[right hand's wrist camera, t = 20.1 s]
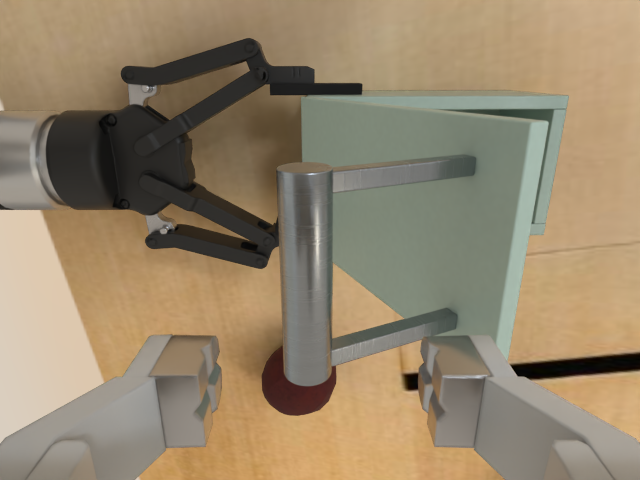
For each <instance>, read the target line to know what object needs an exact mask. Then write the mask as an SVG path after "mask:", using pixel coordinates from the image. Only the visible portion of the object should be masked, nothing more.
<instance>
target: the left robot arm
mask: <svg viewBox="0 0 640 480" xmlns="http://www.w3.org/2000/svg"><path fill="white" fill-rule="evenodd" d="M245 61H247V64H248V67H249V69H250V71H249V72H247V73H246V74H244V75H243V76H241V77H239V78H238V79H236V80H235V81H233V82H231V83H230V84H228V85H227V86H225V87H224V88H222V89H220V90H219V91H217V92H216V93H214V94H212V95H211V96H209V97H208V98H206V99H204V100H203V101H201V102H200V103H198V104H196V105H195V106H193V107H192V108H190V109H188V110H187V111H185V112H184V113H182V114H180V115H178V116H176V117H175V118H173V119H171V120H169V119H167V118H166V117H164V116H163V115H161V114H160V113H158V112H157V111H155V110H154V109H153V108H151V107H150V106H148V105H147V102H148V100H149V98H151V97H153V96H157V95H158V94H159V93H160V91H161V85H168V84H173V83H177V82H181V81H184V80H187V79H190V78H193V77H197V76H200V75H203V74H206V73H210V72H213V71H216V70H219V69H223V68H226V67H229V66H232V65H235V64H239V63H242V62H245ZM121 77H122V79H123V81H124V82H126V83H128V91H129V104H130V105H128V106H126V107H125V108H123V109H122V110H117V111H65V112H63V113H60V112H57V111H0V210H67V209H70V208H73V209H76V210H126V209H128V210H134V211H137V212H139V213H141V214H143V215H145V216H146V221H147V226H148V230H149V235H148V236H147V237H146V239H145V243H146V245H147V246H148V247H149V248H151V249H161V248H179V249H183V250H187V251H191V252H195V253H199V254H203V255H207V256H211V257H215V258H219V259H223V260H227V261H231V262H234V263H238V264H242V265H246V266H250V267H254V268H258V269H262V268H265V267H266V266H267V264H268V260H269V257H270V255H271V252H272V250H273V249H274V248H275V247H278V246H279V227H278V217H277V221H276V224H275V223H274V224H273V225H272V224H270V223H268V222H266V221H264V220H262V219H260V218H258V217H256V216H254V215H253V214H251V213H249V212H247V211H245V210H243V209H241V208H239V207H237V206H235V205H233V204H232V203H230V202H228V201H226V200H224V199H222V198H220V197H218V196H216V195H214V194H213V193H211V192H209V191H207V190H206V188H205V187H203V186H201V185H200V184H198V183H196V182H194V181H193V179H195V169H194V166H193V163H192V161H191V155H192V139H189V137H188V135H187V133H188V132H189V131H191V130H193V129H194V128H196V127H197V126H199V125H200V124H202V123H204V122H205V121H207V120H208V119H210V118H212V117H213V116H215V115H216V114H218V113H220V112H221V111H223V110H225V109H226V108H228V107H229V106H231V105H233V104H234V103H236V102H238V101H239V100H241V99H242V98H244V97H246V96H247V95H249V94H251V93H252V92H254V91H255V90H257V89H259V88H260V87H262V86H264V85H265V84H270V95H362V84H361V83H314V69H312V68H310V67H308V66H271V65H270V64H269V63H268V62H267V61H266V59H265V56H264V54H263V51H262V47H261V45H260V43H258V42H257V41H255V40H254V39H251V38H246V39H243V40H240V41H237V42H234V43H230V44H227V45H224V46H221V47H218V48H215V49H211V50H208V51H205V52H202V53H199V54H196V55H192V56H189V57H186V58H183V59H180V60H177V61H173V62H170V63H167V64H164V65H161V66H157V67H141V66H125V67H124V68H123V69H122V71H121ZM171 203H173V204H175V205H177V206H179V207H181V208H183V209H185V210H187V211H193V212H196V213H198V214H200V215H202V216H204V217H206V218H208V219H210V220H211V221H213V222H215V223H217V224H219V225H221V226H223V227H225V228H227V229H229V230H231V231H233V232H235V233H237V234H239V235H241V236H243V237H245V238H247V239H249V240H251V241H248V240H245V239H241V238H237V237H233V236H229V235H225V234H221V233H217V232H214V231H210V230H206V229H202V228H198V227H194V226H190V225H184V224H177V223H176V221H175V220H174V219H171V218H167V217H165V216H164V215H163V214H162V212H161V210H163V209H164V208H165V207H167V206H168V205H169V204H171ZM252 241H253V242H252Z"/></svg>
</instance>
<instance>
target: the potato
mask: <svg viewBox="0 0 640 480" xmlns="http://www.w3.org/2000/svg"><path fill="white" fill-rule="evenodd" d="M335 384H336V366H332V373H331V375H330V377H329V378H328V379H327V380H326V381H325V382H323V383H321V384H319V385H315V386H300V385H296V384H294V383H292V382H290V381H289V380H288V379H287V378H286V376H285V374H284V358H283V346H281V347H280V348H279V349H278V350H276V351H275V352H274V353H273V354H272V356H271V357H270V358H269V360H268V361H267V362H266V365H265V368H264V371H263V373H262V390H263V393H264V396H265V398H266V400H267V401H268V402H269V404H270V405H271V406H273V407H274V408H275V409H276V410H278V411H279V412H281V413H283V414H286V415H295V416H298V415H305V414H309V413H312V412H315V411H318V410H320V409H321V408H322V407H323V406H324V405H325V404H326V403H327V402H328V401H329V399H330V396H331V394H332V392H333V389H334V387H335Z"/></svg>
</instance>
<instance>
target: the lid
mask: <svg viewBox="0 0 640 480" xmlns="http://www.w3.org/2000/svg"><path fill="white" fill-rule="evenodd" d="M548 124H549V123H548V121H544V120H534V119H525V118H515V117H505V116H495V115H485V114H476V113H466V112H456V111H446V110H436V109H427V108H417V107H407V106H397V105H387V104H378V103H368V102H358V101H348V100H338V99H329V98H319V97H301V125H302V162H295V163H287V164H283V165H280V166H278V167H277V169H276V175H277V201H278V227H279V253H280V280H281V306H282V332H283V358H284V374H285V376H286V378H287V379H288V380H289V381H290V382H292V383H294V384H296V385H300V386H315V385H319V384H321V383H323V382H325V381H326V380H327V379H328V378H329V377H330V375H331V373H332V366H336V365H339V364H342V363H345V362H349V361H352V360H355V359H359V358H362V357H365V356H369V355H372V354H375V353H379V352H382V351H385V350H389V349H392V348H395V347H398V346H402V345H405V344H408V343H412V342H415V341H418V340H422V339H423V336H460V335H485V334H487V335H489V336H491V338H492V339H493V341H494V342H495V344H496V345H497V347H498V348H499V350H500V351H501V353H502V354H503V356H504V357H505V359H506V360H507V362H508V356H509V350H510V344H511V338H512V333H513V327H514V321H515V315H516V310H517V304H518V298H519V292H520V286H521V281H522V275H523V269H524V263H525V257H526V252H527V246H528V240H529V234H530V228H531V223H532V217H533V211H534V205H535V200H536V194H537V188H538V182H539V176H540V171H541V165H542V159H543V153H544V147H545V142H546V136H547V130H548ZM333 263H334V264H336V265H337V266H338V267H339V268H341V269H342V270H343V271H345V272H346V273H347V274H348V275H350V276H351V277H352V278H354V279H355V280H356V281H357V282H359V283H360V284H361V285H362V286H364V287H365V288H366V289H368V290H369V291H370V292H371V293H373V294H374V295H375V296H376V297H378V298H379V299H380V300H382V301H383V302H384V303H385V304H387V305H388V306H389V307H390V308H392V309H393V310H394V311H396V312H397V313H398V314H399V315H401V316H402V317H403V318H404V319H403V320H399V321H396V322H392V323H388V324H385V325H381V326H377V327H374V328H370V329H366V330H363V331H359V332H355V333H352V334H348V335H344V336H341V337H337V338H334V339H332V276H333Z"/></svg>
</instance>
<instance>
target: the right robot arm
mask: <svg viewBox="0 0 640 480" xmlns="http://www.w3.org/2000/svg"><path fill="white" fill-rule="evenodd" d="M219 352H220V351H219V343H218V339H217V337H216V336H205V335H152V336H149V337H148V339H147V340H146V342H145V343H144V345H143V346H142V348H141V349H140V351H139V352H138V354H137V355H136V357H135V358H134V360H133V361H132V363H131V364H130V366H129V367H128V369H127V370H126V372H125V374H124V375H123V377H115V378H113V379H111V380H109V381H107V382H105V383H104V384H102V385H100V386H98V387H96V388H95V389H93V390H91V391H89V392H87V393H86V394H84V395H82V396H80V397H78V398H77V399H75V400H73V401H71V402H69V403H67V404H66V405H64V406H62V407H60V408H58V409H57V410H55V411H53V412H51V413H49V414H48V415H46V416H44V417H42V418H40V419H39V420H37V421H35V422H33V423H31V424H29V425H28V426H26V427H24V428H22V429H20V430H19V431H17V432H15V433H13V434H11V435H10V436H8V437H6V438H5V439H4V440H3V441H2V442H1V443H0V480H135V479H136V478H137V477H138V476H139V475H140V474H141V473H142V472H143V471H145V470H146V469H147V468H148V467H149V466H150V465H151V464H152V463H153V462H154V461H155V460H156V459H157V458H158V457H159V456H160V455H161V454H162V453H163V452H164V451H165V450H166V448H180V447H206V444H207V441H208V438H209V434H210V431H211V428H212V425H213V420H212V413H213V412H214V411H216V410H217V409H218V405H219V401H220V396H221V389H222V373H221V367H220V366H219V365H218V364H217V363H216V361H217V358H218V355H219ZM420 352H421V355H422V358H423V361H424V363H423V364H422V365H421V366H420V367H419V375H418V388H419V396H420V402H421V405H422V409H423V410H424V411H426V412H427V413H428V420H427V425H428V428H429V431H430V434H431V437H432V441H433V444H434V447H459V448H474V450H475V451H476V452H477V453H478V454H479V455H480V456H481V457H482V458H483V459H484V460H485V461H486V462H487V463H488V464H489V465H490V466H492V467H493V468H494V469H495V470H496V471H497V472H498V473H499V474H500V475H501V476H502V477H503V478H504V479H505V480H640V443H639V442H638V441H637V440H636V439H635V438H634V437H632V436H630V435H628V434H627V433H625V432H623V431H621V430H619V429H618V428H616V427H614V426H612V425H610V424H608V423H607V422H605V421H603V420H601V419H599V418H598V417H596V416H594V415H592V414H590V413H589V412H587V411H585V410H583V409H581V408H580V407H578V406H576V405H574V404H572V403H571V402H569V401H567V400H565V399H563V398H562V397H560V396H558V395H556V394H554V393H553V392H551V391H549V390H547V389H545V388H544V387H542V386H540V385H538V384H536V383H534V382H533V381H531V380H529V379H527V378H525V377H517V375H516V374H515V372H514V371H513V369H512V368H511V366H510V365H509V363H508V362H507V360H506V359H505V357H504V356H503V354H502V353H501V351H500V350H499V348H498V347H497V345H496V344H495V342H494V341H493V339H492V338H491V336H489V335H487V334H485V335H460V336H423V339H422V342H421V351H420Z"/></svg>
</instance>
